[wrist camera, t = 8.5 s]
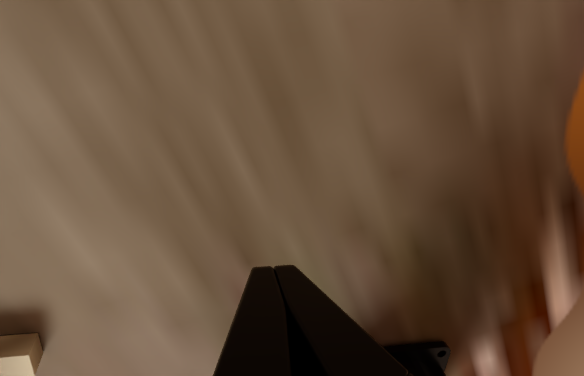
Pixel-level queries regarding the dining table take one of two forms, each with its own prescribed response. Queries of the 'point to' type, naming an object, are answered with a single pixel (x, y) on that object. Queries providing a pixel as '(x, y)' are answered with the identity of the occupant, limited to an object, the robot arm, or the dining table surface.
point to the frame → (20, 354)
